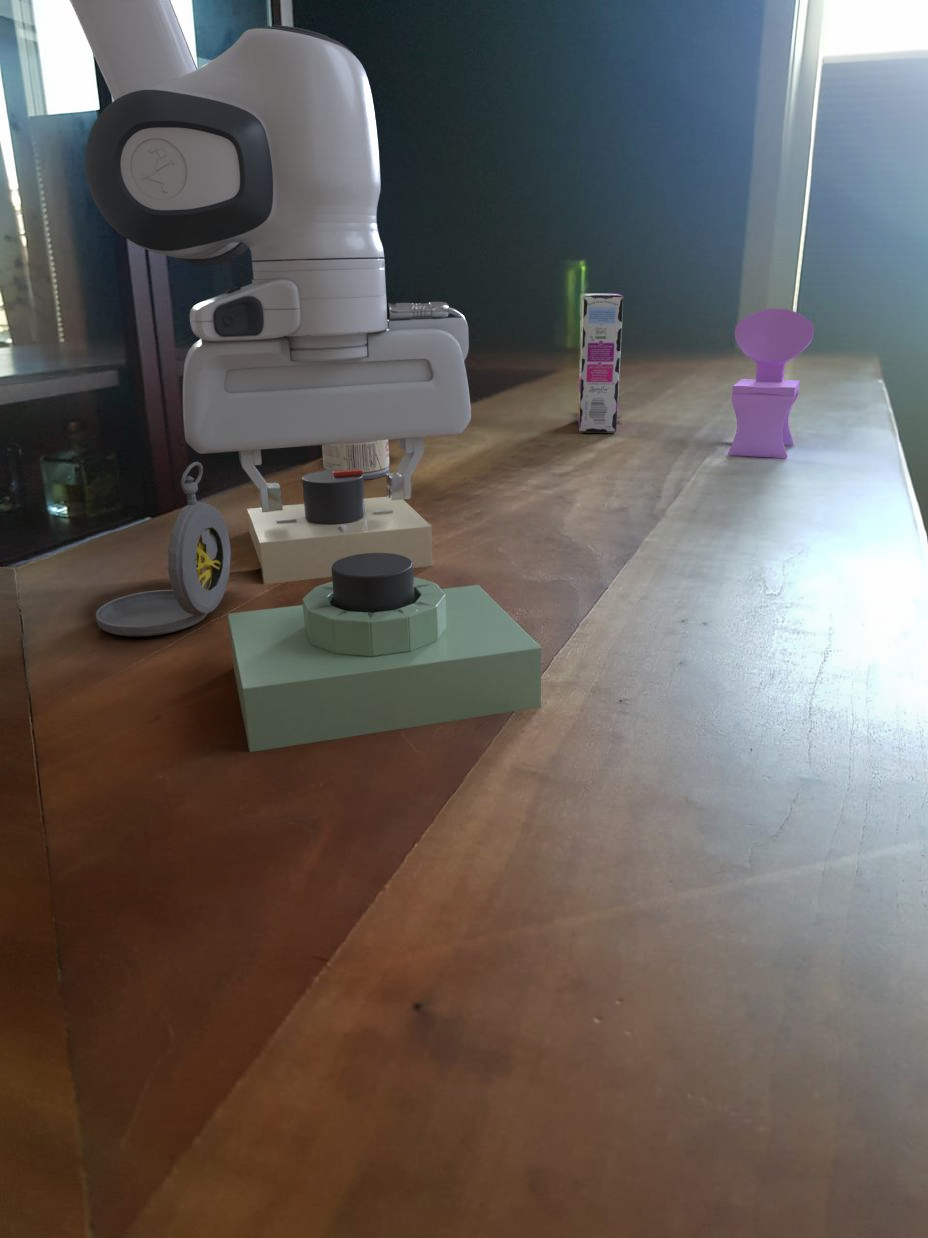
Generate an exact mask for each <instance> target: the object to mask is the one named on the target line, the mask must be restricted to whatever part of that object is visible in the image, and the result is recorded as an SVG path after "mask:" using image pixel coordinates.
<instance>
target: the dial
mask: <svg viewBox="0 0 928 1238" xmlns="http://www.w3.org/2000/svg"><path fill="white" fill-rule="evenodd" d="M301 483H302V495H303V496H302V497H303V504H304V509H305V518H306V520H308V521H310V522H314V523H320V524H339V523H348V522H353V521H356V520H359V519H362V518H363V517H364V516H365V501H364V499H365V485H364V480H363V474H362V470H361V469H357V470H328V471H324V470H320V471H314V472H310V473H307V474H305V475H303V476H302V477H301Z"/></svg>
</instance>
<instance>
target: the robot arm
mask: <svg viewBox="0 0 928 1238" xmlns="http://www.w3.org/2000/svg"><path fill="white" fill-rule="evenodd" d="M69 2H70V4H71V7H72V9H73V11H74V13H75V15H76V17H77V20H78V22H79V24H80V26H81V29H82V31H83V34H84V35H85V38H86V40H87V43H88V45H89V47H90V49H91V52H92V54H93V56H94V58H95V61H96V63H97V65H98V68H99V71H100V72H101V74H102V77H103V79H104V81H105V84H106V86H107V88H108V91H109V93H110V95H111V97H112V100H113V101H112V102H111V103H109V104H108V105H107V106H106V107H105V108H104V109H103V110H102V111H101V113H100V114H99V115H98V117H97V118H96V120H95V121H94V123H93V125H92V128H91V129H90V131H89V134H88V137H87V141H86V146H85V153H84V154H85V155H84V168H85V170H84V171H85V177H86V181H87V185H88V189H89V191H90V194H91V197H92V199H93V202H94V204H95V206H96V207H97V209H98V211H99V212H100V214H101V216H102V217H103V218H104V220H105V221H106V222H107V223H108V224H109V225H110V226H111V227H112V228H113V229H114V230H115V232H117V233H118V234H119V235H121V236H122V237H124V238H125V239H127V240H128V241H130V242H131V243H133V244H135V245H136V246H138V247H140V248H142V249H144V250H146V251H149V252H152V253H155V254H159V255H162V256H166V257H171V258H174V259H177V260H178V261H181V262H185V263H187V264H190V265H191V264H192V265H196V266H215V265H220V264H224V263H227V262H229V261H233V260H234V259H236V258H238V257H239V256H241V255H242V254H244V253H245V252H247V250H248V249H249V251H250V256H251V257H250V258H251V267H252V276H253V277H252V279H251V283H250V284H247V285H244V286H242V287H240V286H235V287H234V286H233V287H231V288H228V289H227V290H225V293H222V294H219V295H216V296H214V297H211V298H208V299H206V300H203V301H200V302H198V303H196V304H195V305H193V306H192V308H191V309H190V311H189V323H190V324H189V325H190V329H191V331H192V333H193V335H195V337H197V338H198V339H199V340H197V341H195V342H194V343H193V344H192V345H191V347H189V349H188V351H187V353H186V356H185V359H184V365H183V376H182V420H183V421H182V422H183V432H184V440H185V442H186V444H187V445H188V446H189V447H191V449H192V450H194V451H195V452H196V453H198V454H201V455H202V454H204V455H205V454H218V453H231V452H232V453H233V452H238V457H239V458H238V459H239V463H240V467H241V468H242V469H243V471H244V472H245V473H246V474H247V476H248V477H249V479H250V480H251V481H252V482H253V484H254V486H255V487H256V488H257V490H258V500H259V501H258V502H259V508H261V511H262V512H272V511H281V510H283V506H284V505H283V501H282V500H281V499H282V497H283V496H282V488H281V485H280V483H279V482H267V481H266V479H265V478H264V476H263V475H262V474H261V473H260V471H259V470H258V468H257V467H256V466H262V463H263V462H262V450H270V449H281V448H282V449H283V448H295V447H311V446H322V445H325V444H338V443H351V442H365V441H378V440H388V441H389V440H398V445H399V447H398V448H400V450H403V451H404V454H403V456H402V459H401V460H400V463H399V465H398V467H397V469H396V471H395V472H389V473H386V475H385V481H386V484H388V485H387V486H386V494H387V497H388V498H390V500H402V499H403V500H410V499H411V498H412V483H411V477H413V476H414V475H413V474H414V473H415V471H416V469H417V467H418V465H419V464H420V461H421V459H422V458H423V456H424V454H425V438H431V437H443V436H456V435H461V434H462V433H463V432H464V431H465V429H467V427H468V425H469V424H470V423H471V419H472V407H471V396H470V389H469V387H470V386H469V383H468V381H469V380H468V375H467V370H466V369H467V368H466V364H465V361H466V359H467V357H468V354H469V349H470V344H469V343H470V338H469V334H470V333H469V325H468V324H469V323H468V322H467V320H466V317H465V315H463V314H462V312H460V311H459V310H458V309H456V308H453V307H451V306H449V304H448V303H447V302H445V301H430V302H428V303H416V302H415V303H414V302H391V303H389V302H388V303H387V288H386V284H387V283H386V263H385V262H386V261H385V253H384V247H383V244H382V240H381V238H380V234H379V229H378V223H377V222H378V220H377V219H378V218H377V217H378V216H377V214H378V213H377V212H378V204H379V199H380V195H381V186H382V185H381V181H382V180H381V167H380V165H381V164H380V151H379V138H378V129H377V128H378V127H377V120H376V113H375V106H374V100H373V95H372V89H371V86H370V82H369V81H370V80H369V79H368V76H367V72H366V70H365V68H364V66H363V64H362V62H361V61H360V60H359V59H358V58H357V56H356V54H355V53H353V51H351V49H349V48H348V47H347V46H346V45H344V44H343V43H342V42H340V41H339V40H336V39H335V38H331V37H328V36H327V35H325V34H324V33H323V34H322V33H320V32H316V31H312V30H309V29H304V28H302V27H301V28H300V27H295V26H289V25H279V24H277V25H276V24H274V25H258V26H256V27H251V28H249V29H247V30H245V31H244V32H243V33H242V34H241V35H240V36H239V37H238V39H237V40H236V41H235V42H234V43H233V44H232V45H231V46H230V47H229V48H227V50H225V51H224V52H223V53H220V55H218V56H217V57H215V58H214V59H212V60H211V61H208V62H207V63H205V64H204V65H202V66H200V67H197V65H196V62H195V60H194V57H193V55H192V52H191V50H190V48H189V45H188V42H187V40H186V37H185V34H184V32H183V29H182V26H181V25H180V22H179V19H178V16H177V14H176V11H175V9H174V6H173V4H172V2H171V0H69ZM449 315H453V316H454V317H448V316H449Z"/></svg>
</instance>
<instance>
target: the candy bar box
mask: <svg viewBox="0 0 928 1238" xmlns="http://www.w3.org/2000/svg"><path fill="white" fill-rule="evenodd" d="M581 300H582V301H581V319H580V320H581V323H580V345H579V347H580V348H579V370H578V371H579V373H578V375H579V376H578V407H577V409H578V411H577V420H578V421H577V423H578V432H579V433H583V434H584V433H585V434H586V433H587V434H590V433H591V434H593V433H594V434H614V433H616V432H617V426H618V425H617V424H618V411H619V410H618V409H619V407H618V406H619V390H620V373H621V372H620V371H621V354H622V353H621V351H622V334H623V333H622V332H623V314H624V313H623V311H624V296H623V295H621V294H620V293H599V292H598V293H583V294H582V299H581Z"/></svg>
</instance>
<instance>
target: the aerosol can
mask: <svg viewBox="0 0 928 1238" xmlns="http://www.w3.org/2000/svg"><path fill="white" fill-rule="evenodd" d="M321 448H322V449H321V450H322V451H321V452H322V464H323V465H322V466H323V468H324V470H323V471H328V470H357V469H361V470H362V474H363V481H364V480H372V479H378V478H382V477H386V473H391V470H390V469H391V468H390V448H389V440H378V441H365V442H351V443H338V444H325V445H321Z"/></svg>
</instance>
